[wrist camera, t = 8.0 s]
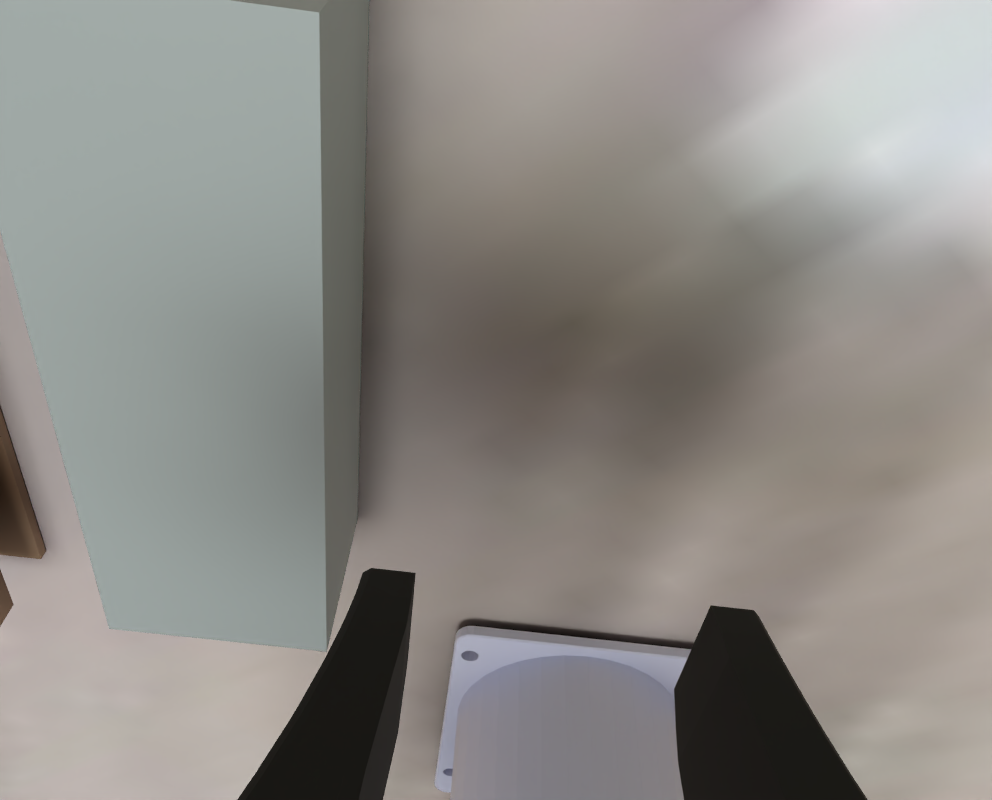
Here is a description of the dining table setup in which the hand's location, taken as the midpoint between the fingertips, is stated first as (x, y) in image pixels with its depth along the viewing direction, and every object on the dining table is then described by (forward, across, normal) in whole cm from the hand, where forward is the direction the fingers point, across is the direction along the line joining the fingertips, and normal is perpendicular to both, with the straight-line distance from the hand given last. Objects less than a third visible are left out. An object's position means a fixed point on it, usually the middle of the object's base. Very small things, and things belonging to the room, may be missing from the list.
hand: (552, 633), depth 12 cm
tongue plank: (+9, +7, 0) cm, 11 cm away
